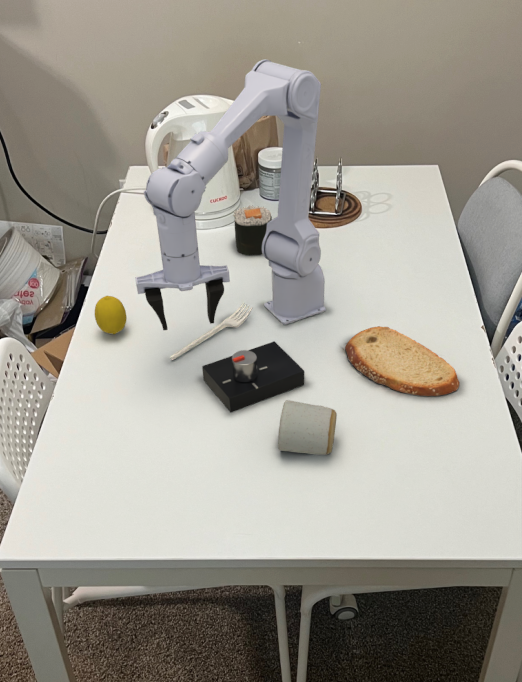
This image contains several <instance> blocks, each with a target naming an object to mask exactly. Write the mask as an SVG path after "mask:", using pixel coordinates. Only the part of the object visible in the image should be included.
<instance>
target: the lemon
mask: <svg viewBox="0 0 522 682" xmlns="http://www.w3.org/2000/svg"><path fill="white" fill-rule="evenodd" d="M94 307H95V308H94V319H95V322H96V325H97V327H98V328H99V329H100V330H101V331H102V332H104V333H105V334H110V335H116V334H117V333H119V332H121V331H122V330H123V329H124V328H125V326H126V325H127V312H126V311H127V310H126V308H125V306H124V305H123V303H122V301H121V300H120V299H119V298H117V297H115V296H113V295H105V296H102V297H101V298H100V299H98V301H97V302H96V304H95V306H94Z"/></svg>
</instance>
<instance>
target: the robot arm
mask: <svg viewBox="0 0 522 682" xmlns="http://www.w3.org/2000/svg"><path fill="white" fill-rule="evenodd" d="M244 77H245V78H244V84H243V87H244V88H243V89H242V90H241V92H240V93H239V94H238V95H237V96H236V98H235V99H234V101H233V102H232V103H231V104H230V106H228V109H226V111H225V112H224V113H223V115H222V116H221V117H220V118H219V121H217V123H216V124H215V125H214V127H213V128H212V129H211V130H209V131H207V130H200V131H199V132H196V133H194V134H193V135H192V136H191V138H190V141H189V142H188V143H187V144H186V145H185V147H184V148H183V149H182V150H181V151H180V152H179V153H178V154H177V155H176V156H175V157H174V158H173V159H172V160H171V162H170V163H169V164H168V165H167V166H162V167H159V168H157V169H155V170H154V171H152V172H151V173H150V175H149V177H148V178H147V181H146V186H145V190H144V191H143V195H144V198H145V201H146V202H147V203H148V204H149V205H150V206H151V207H152V211H153V216H155V219H156V227H157V234H158V242H159V249H160V256H161V264H162V269H161V270H157V271H154V272H151V273H148V274H145V275H141V276H136V277H135V284H136V285H135V286H136V290H137V294H138V295H142V294H144V295H145V300H146V302H147V303H148V305H149V306H150V307H151V308H152V310H153V311H154V312H155V314H156V316H157V317H158V319H159V322H160V324H161V327H162V330H163V331H168V329H169V328H168V323H167V320H166V316H165V308H164V299H163V295H162V290H163V289H164V290H165V289H178V290H179V292H187V291H192V290H193V289H194V288H193V287H195V286H198V285H201V284H205V293H206V309H207V310H206V312H207V313H206V314H207V318H208V322H209V324H210V325H212V324H214V323H215V319H216V318H215V317H216V312H217V308H218V305H219V304H220V301H221V299H222V297H223V295H224V293H225V286H224V283H230V282H231V280H230V270H229V268H228V265H227V264H226V265H201V264H200V261H201V260H200V253H199V243H198V232H197V221H196V211H197V210H198V209H199V207H200V205H201V203H202V198H203V194H205V192H206V189H207V185H208V184H209V183H210V182H211V180H213V178H214V177H215V176H216V175H217V174H218V172H220V171H221V169H222V168H223V167H224V166H225V165H226V164H227V162H228V161H229V148H230V147H231V146H233V145H234V144H235V143H236V142H237V141H238V140H239V139H240V138H241V137H242V136H243V135H244V134H245V133H246V132H247V131H248V130H250V129H251V127H252V126H254V125H255V124H256V123H257V122H258V121H259V120H260V119H261V118H262V117H271V116H272V117H274V116H276V117H277V118H278V119H279V120H280V121H281V122H282V124H283V137H282V150H281V161H280V162H281V163H280V164H281V165H280V177H279V178H280V179H279V190H278V204H277V216H276V217H273V218H272V220H271V221H270V222H268V223H267V229H266V234H265V237H264V239H263V242H262V254H261V255H262V256H263V258H264V259H265V260H268V267H270V268H271V292H272V294H271V295H272V297H271V298H272V299H271V300H269V301H267V302H264V303H263V306H264V308H265V309H267V311H269V313H271V314H272V315H273V316H274V317H275V318H276V319H277V320H278V321H279V322H280V323H281V324H282V325H289V324H291V323H294V322H297V321H300V320H303V319H305V318H309V317H312V316H315V315H318V314H321V313H324V312H326V311H327V308H326V307H325V275H324V272H323V269H322V266H321V265H320V261H321V255H322V253H321V252H322V250H321V246H320V232H319V231H318V229H317V228H316V227H315V225H314V224H313V223H312V221H311V220H310V217H309V213H310V204H311V194H312V183H313V173H314V163H315V153H316V151H315V150H316V143H317V142H316V141H317V132H318V123H319V122H318V120H319V109H320V100H321V91H322V90H321V89H322V83H321V82H320V80H319V79H318V78H317V77H316V75H315V74H314V73H313V72H312V71H311V70H306V69H299V68H295V67H292V66H288V65H285V64H281V63H277V62H273V61H271V60H270V59H261V60H259V61H257V62H255V64H254V65H253V67H252V68H251V70H250V71H249V72H247V73H246V74H245V76H244Z"/></svg>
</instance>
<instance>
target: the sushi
mask: <svg viewBox="0 0 522 682" xmlns="http://www.w3.org/2000/svg"><path fill="white" fill-rule="evenodd" d="M232 216H233V217H234V236H235V237H234V239H235V246H236V247H235V248H236V251H237V252H238V254H241V255H242V256H260V255H263V254H262V242H263V239H264V237H265V234H266V229H267V223H268V222H270V221H271V220H272V219H273V218H272V216H273V215H272V213H271V211H270V210H269V209H267V207H265V206H258V205H257V206H254V205H248V206H245V207H242V208H241V207H239V208H238V210H237V209H235V210H234V211H233V215H232Z"/></svg>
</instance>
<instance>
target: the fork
mask: <svg viewBox="0 0 522 682" xmlns="http://www.w3.org/2000/svg"><path fill="white" fill-rule="evenodd" d="M249 308H250V309H249ZM253 308H254V307H253V306H250V305H248V304H247V303H245V302H243V303H242V304H241V305H240V306H239V307H238V308H237V309H236V310H235V311H234V312H233V313H232V314H231V315H229V316H228V317H227V318H225V319H223V320H222V322H220V323H218V324H217V325H216V326H214V327H213V328H211V329H209V330H208V331H206V332H205V333H203V334H202V335H200V336H199V337H197V338H196V339H194V340H193V341H191V342H190V343H188V344H187V345H185V346H184V347H182V348H181V349H179V350H177V351H176V352H175V353H173V354H172V355H171V356H169V360H171V361H174V360H176V359H177V358H180V356H182V355H184V354H185V353H187V352H188V351H190V350H192V349H193V348H194V347H197V346H198V345H199V344H201V343H202V342H204V341H206V340H207V339H209V338H211V337H212V336H215V334H217V333H219V332H220V331H221V330H223V329H225V328H226V327H227V328H239V327H241V325H243V323H245V321H247V318H248V317H249V315H250V314H251V312H252V310H253Z"/></svg>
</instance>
